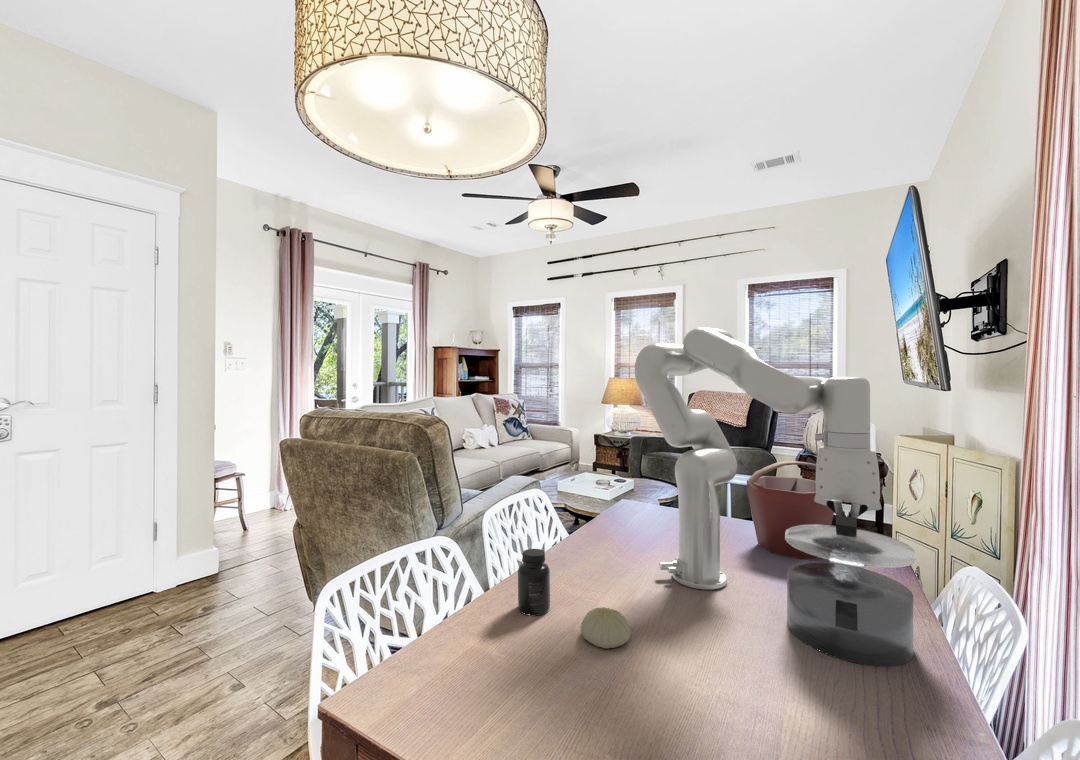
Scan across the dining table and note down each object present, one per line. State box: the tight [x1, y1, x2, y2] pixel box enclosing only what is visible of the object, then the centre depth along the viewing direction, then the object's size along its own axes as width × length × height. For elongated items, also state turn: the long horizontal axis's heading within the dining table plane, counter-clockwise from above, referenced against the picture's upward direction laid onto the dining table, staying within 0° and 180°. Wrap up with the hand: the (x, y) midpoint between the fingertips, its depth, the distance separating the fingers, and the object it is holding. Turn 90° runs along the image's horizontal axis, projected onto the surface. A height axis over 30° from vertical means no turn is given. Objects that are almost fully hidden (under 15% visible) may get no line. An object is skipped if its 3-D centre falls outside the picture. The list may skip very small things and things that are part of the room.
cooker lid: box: [785, 514, 917, 569], centre depth 89 cm, size 26×21×2 cm
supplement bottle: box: [517, 548, 551, 616], centre depth 99 cm, size 7×7×12 cm
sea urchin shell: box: [580, 607, 632, 649], centre depth 88 cm, size 9×8×8 cm
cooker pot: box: [786, 560, 914, 668], centre depth 87 cm, size 27×20×10 cm
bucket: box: [746, 460, 835, 561], centre depth 134 cm, size 24×22×25 cm
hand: (846, 536), depth 89 cm, fingers closed
